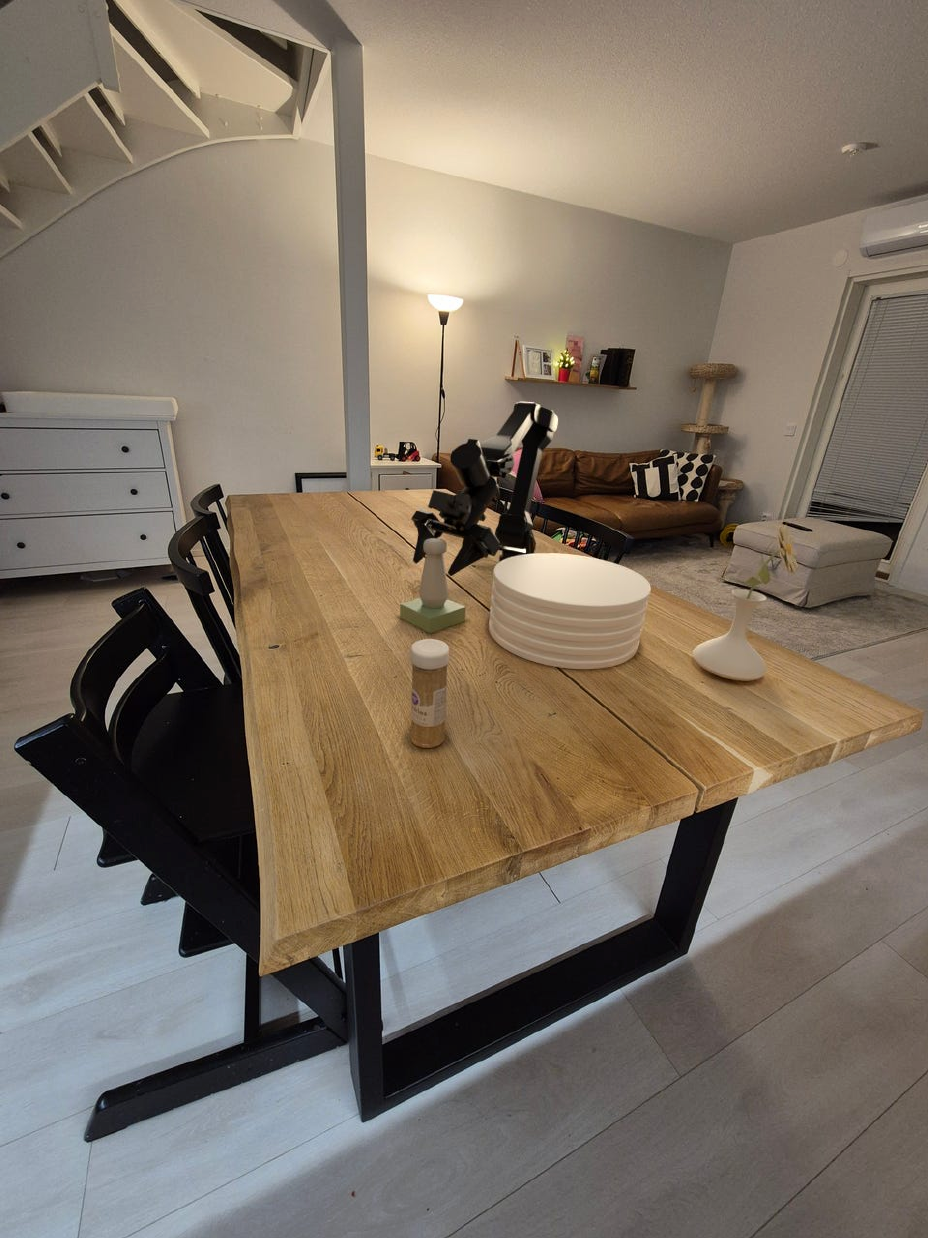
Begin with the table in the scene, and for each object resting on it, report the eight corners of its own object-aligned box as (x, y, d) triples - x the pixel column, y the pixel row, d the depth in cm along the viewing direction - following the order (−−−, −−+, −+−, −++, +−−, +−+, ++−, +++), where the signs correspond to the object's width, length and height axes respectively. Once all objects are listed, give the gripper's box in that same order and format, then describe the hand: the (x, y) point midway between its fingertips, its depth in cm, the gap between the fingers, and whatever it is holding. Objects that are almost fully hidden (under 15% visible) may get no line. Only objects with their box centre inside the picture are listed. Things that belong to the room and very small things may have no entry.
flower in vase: (733, 693, 79) (784, 538, 68) (676, 660, 88) (712, 519, 77) (784, 677, 84) (837, 531, 74) (725, 647, 93) (765, 514, 83)
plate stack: (646, 622, 102) (658, 568, 98) (625, 686, 79) (640, 620, 74) (517, 594, 113) (522, 545, 108) (464, 644, 89) (468, 583, 85)
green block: (434, 606, 104) (435, 593, 103) (464, 621, 98) (465, 607, 97) (400, 617, 98) (400, 603, 97) (430, 633, 93) (430, 618, 91)
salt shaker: (450, 600, 100) (453, 536, 94) (446, 611, 94) (449, 545, 89) (421, 598, 100) (422, 534, 95) (415, 609, 95) (416, 542, 90)
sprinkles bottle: (402, 738, 64) (402, 645, 59) (427, 723, 68) (429, 634, 62) (428, 755, 62) (430, 659, 56) (452, 738, 65) (457, 646, 59)
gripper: (418, 467, 96) (374, 532, 93) (495, 481, 85) (447, 556, 82) (445, 503, 105) (406, 564, 101) (518, 520, 93) (476, 590, 90)
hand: (431, 568), depth 94 cm, fingers open, 9 cm apart
